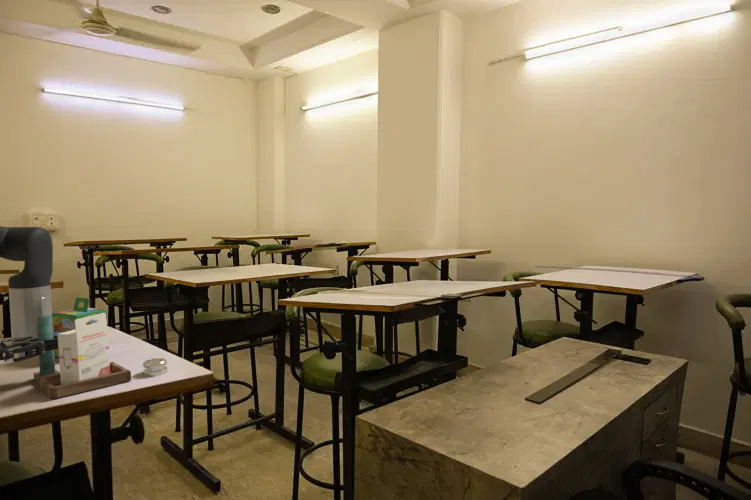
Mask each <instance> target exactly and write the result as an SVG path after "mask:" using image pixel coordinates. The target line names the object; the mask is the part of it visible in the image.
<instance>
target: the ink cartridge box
mask: <svg viewBox="0 0 751 500" xmlns="http://www.w3.org/2000/svg"><path fill="white" fill-rule="evenodd" d="M90 320H92V321H94V320H96V323H94V324H91V325H86V323H87V322H89V321H90ZM108 327H109V326H108V320H107V321H106V314H105V313H101V314H97V315H92V316H88V317H84V318H80V319H76V320H75V330H71V331H67V332H64V333H59V334H57V335H58V348H59V357H58V360H59V372H60V378H61V384H60V385H62V384H67V383H71V382H76V381H81V380H85V379H89V378H94V377H98V376H103V375H107V374H111V373H110V345H109V328H108Z"/></svg>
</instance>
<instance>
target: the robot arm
mask: <svg viewBox="0 0 751 500" xmlns="http://www.w3.org/2000/svg"><path fill="white" fill-rule="evenodd" d="M53 248H54V246H53V239H52V236H51V233H50V232H49V231H48V230H47V229H46V228H44V227H41V226H11V227H10V226H0V259H1V258H2V259H5V260H8V261H12V262H24V266H23V269H22V270H21V271H20V272H18V273H17V274H14V275H11V276H9V278H8V281H7V282H8V299H9V313H10V317H9V318H10V332H11V338H2V339H1V338H0V361H3V362H5V363H7V362H14V363H18V362H21V361H25V360H29V359H32V358H37V357H39V356H40V355H43V353H44V351H49V350H55V349H59V348H58V336H57V335H56V336H53V338H54V339H50V340H44V341H42V340H40V341H38V330H37V317H40V316H49V315H50V316H52V313H53V308H52V307H53V306H52V290H51V289H52V287H51V278H52V276H53V271H54V270H53V267H54V266H53V265H54V264H53V261H54V257H53V256H54V253H53V252H54V249H53Z"/></svg>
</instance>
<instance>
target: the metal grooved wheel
mask: <svg viewBox="0 0 751 500" xmlns="http://www.w3.org/2000/svg"><path fill="white" fill-rule="evenodd" d="M167 364H168V361H167V359H166V358H164V357H155V358H150V359H146V360H145V361H144V362H143V363H142V367H143V368H144V369H143V370H142V371H143V373H142V374H143V376H144V377H159V376H161V375H165V374H167V373H168V367H167V366H166V365H167Z"/></svg>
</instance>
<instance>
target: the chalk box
mask: <svg viewBox="0 0 751 500" xmlns="http://www.w3.org/2000/svg"><path fill="white" fill-rule="evenodd" d="M74 302H75V303H74V305H73V309H69V310H62V311H61V310H60V311H55V312H52V319H53V336H56V335H57V334H59V333H64V332H67V331H71V330H75V320H76V319H80V318H84V317H88V316H92V315H97V314H101V313H105V314H106V321H107V322H108V311H107V310H106V309H103V308H95V307H89V303H90V298H88V297H76V298H75V301H74ZM80 303H83V306H82V307H80V305H79V304H80ZM94 323H96V320H94V321H92V320H90V321H89V322H87V323H86V325H91V324H94ZM57 336H58V335H57ZM54 357H55V358H59V349H55V350H54Z"/></svg>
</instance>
